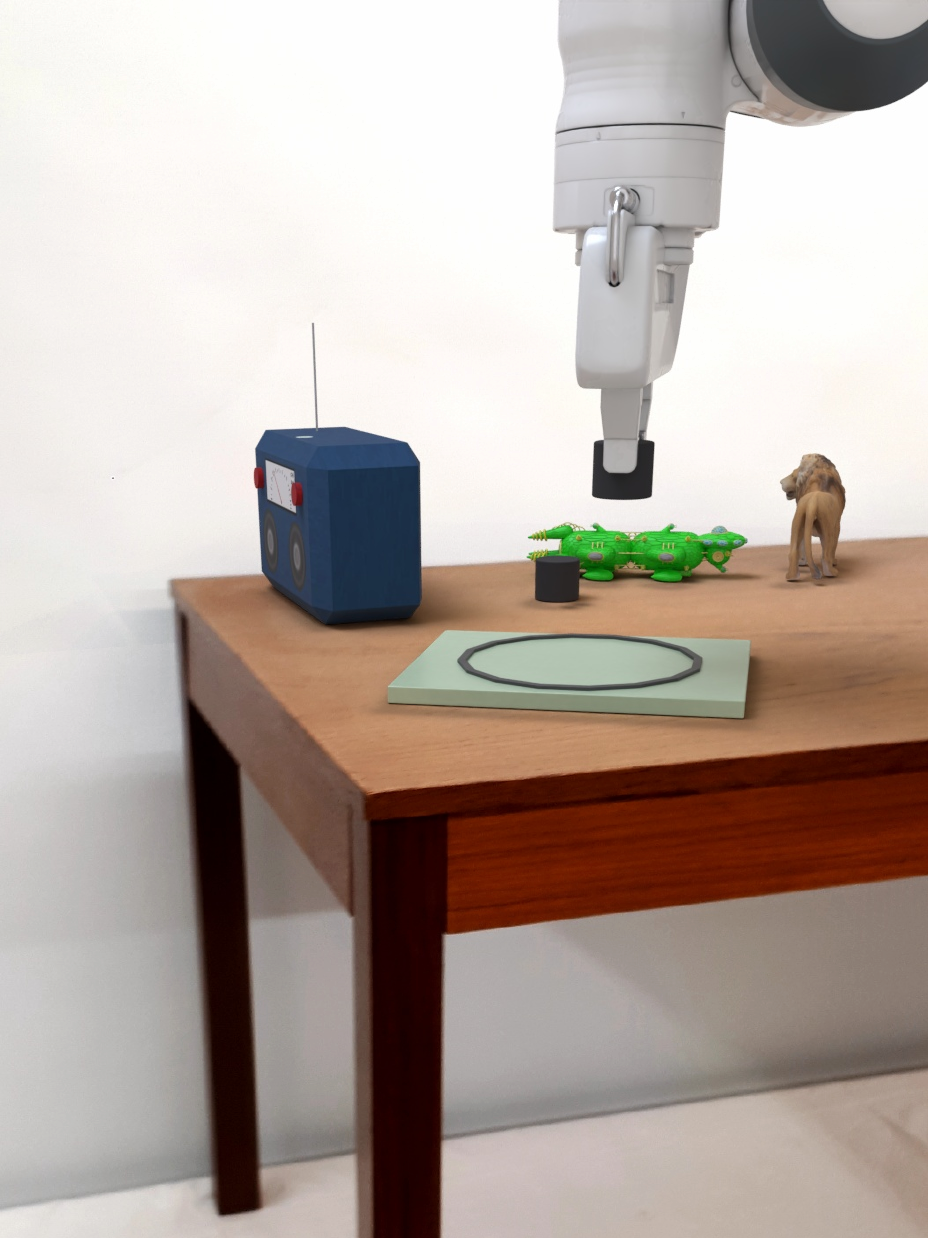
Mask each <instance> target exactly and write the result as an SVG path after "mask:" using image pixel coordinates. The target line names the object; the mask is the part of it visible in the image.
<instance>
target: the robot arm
mask: <svg viewBox="0 0 928 1238" xmlns="http://www.w3.org/2000/svg"><path fill="white" fill-rule="evenodd" d="M557 7H558V9H557V47H558V50H559V55H560V58H561V64H562V71H563V91H562V97H561V103H560V106H559V107H560V108H559V111H558V115H557V118H556V123H555V128H554V129H555V130H554V157H553V159H554V160H553V200H552V201H553V202H552V203H553V204H552V230H553V232H554V233H557V234H567V235H575V249H576V251H575V252H574V265H575V266H577V267H579V279H578V293H577V294H578V295H577V296H578V297H577V311H576V312H577V313H576V329H575V330H576V331H575V332H576V333H575V353H574V354H575V355H574V362H575V365H574V366H575V367H574V368H575V376H576V377H575V378H576V382H577V385H578V386H579V387H580V388H581V389H585V390H587V389H588V390H590V389H591V390H600V416H601V426H602V436H603V440H604V453H603V466H604V469H605V470H606V471H607V472H609V473H630V472H632V471H633V470H634V469H635V467H636V466H637V464H638V451H639V439H640V440H647V436H648V435H647V434H648V426H649V421H650V414H651V408H652V401H653V392H654V390H653V389H654V382H655V381H657V380H658V379H659V378H661V377H663V376H665V375H666V374H668V373H670V372H671V370H672V368H673V365H674V361H675V357H676V354H677V353H676V352H677V349H678V343H679V338H680V333H681V332H680V331H681V325H682V318H683V313H684V304H685V298H686V293H687V285H688V278H689V273H690V267H691V265H692V264H693V263H694V255H695V254H694V253H695V251H694V249H693V248H694V247H695V239H700V238H701V237H702V236H703V235H704V234H705V233H706V232H713V231H717V230H718V229H719V228H720V221H721V220H720V219H721V205H722V204H721V202H722V189H723V188H722V187H723V173H724V172H723V171H724V157H725V142H726V127H727V126H726V125H727V118H728V115H729V114H730V113H733V114H738V115H743V116H747V117H752V118H756V119H762V120H767V121H769V122H772V123H775V124H778V125H781V126H788V127H796V128H807V127H814V126H820V125H824V124H828V123H830V122H833V121H835V120H838V119H841V118H844V117H847V116H850V115H852V114H854V113H856V112H864V111H871V110H875V109H880V108H883V107H887V106H889V105H892V104H894V103H896V102H898V101H901V100H902V99H904V98H906V97H908V96H910V95H911V94H913V93H915V92H916V91H918V90H919V89H920V88H922V87H923V86H924V85H926V84H927V83H928V0H558V6H557Z"/></svg>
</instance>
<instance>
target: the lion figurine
mask: <svg viewBox="0 0 928 1238" xmlns="http://www.w3.org/2000/svg"><path fill="white" fill-rule="evenodd" d="M842 481H843V480H842V478H841V476H840V473H839V470H838V469H837V468H836V464H835V463H833V462H832V460H831V459H829V458H827V457H826V456H825V455H824V454H820V453H817V452H816V453H815V452H814V453H807V454H803V455H802V457H801V460H800V463H799V466H798V467H797V468H795V469H793V470H792V472H791V473H790V474H788V475H787V476H785V477H784V478H782V479H781V480H780V481H779V484H780V485H781V490H782V491H783V492H784V493H785V498H786V501H792V500H795V504H796V509H795V512H794V515H793V518H792V521H791V527H790V530H791V531H790V539H789V540H790V542H789V543H790V544H789V545H790V546H789V548H790V549H789V552H788V553H789V554H788V564H789V565H788V570H787V572H786V573H785V579H786V580H798V579H800V578H801V573H800V569H799V566H806V565H807V566H808V568H809V570H810V575H811V578H814V579H815V580H821V579H822V577H823V575H824V576H826V577H836V576H839V570H838V569H837V568H836V567H834V565H835V566H836V565H838V563H839V560H838V559H837V558H836V551H837V547H838V543H839V538H840V534H841V520H842V515H843V514H844V510H845V508H846V502H847V501H846V500H847V498H846V488H845V486H844V485H843V483H842ZM812 537H814V538H818V539H819V542H820V545H821V551H822V552H821V555H820V562H821V565H822V573H821V571H820V568H819V567H817V565H816V563H815V560H814V557H813V550H812V546H813V545H812V539H813V538H812Z"/></svg>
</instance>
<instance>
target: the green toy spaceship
mask: <svg viewBox="0 0 928 1238" xmlns="http://www.w3.org/2000/svg"><path fill="white" fill-rule="evenodd" d="M589 527H590V528H592V529H593V530H586V529H585V527H583V526H582V525H578V524H576V523H572V522H569V521H566V522H563V523H561V524H558V525H557V526H556V525H555V526H553V527H552V528H551V529H548V530H546V528H543V530H539V531H535V533H532V534H531V535H528V536H527V539H530V540H531V539H532V540H533V541H535V540H536V541H540V542H543V541H544V542H548V540H560V541H559V544H558V549H552V550H548V548H545V549H541V550H539V549H537V550H533V552H528V555H526V558H527V559H530V561H531V562H532V561H533V563H535V560H536V558H538V557H543V556H555V555H561V556H573V557H577V558H579V559H580V570H584V571H585V573H584V574H582V575H581V577H583V578H585V579H586V580H591V581H611V580H613V578H614V574H613V573H614V572H615V571H618V570H641V571H654V572H653V575H651V576H650V578H652V579H653V580H655V581H659V582H681V580H682V579H683V577H691V576H692V571H693V570H694V569H696V568H697V567H698V566H700V565H701V564H702V562H707V563H709V564H710V565H712V566H714V568H716V569H717V570H718V571H719V572H720V573H721V574H724V573H726V572H729V569H727V567H726V566H724V565H726V564H727V563H728V562H729V561H730V559H731V558H732V557H734V556H735V555H734V554H733V550H737V549H739V548H741V547H743V546H744V545H746V544H747V543H749V542H748V540H749V539H748V538H747V537H745V536H744V535H742V534H740V533H736V532H733V531H728V529H727V528H726V527H725V526H724V525H715V527H713V528H712V529H711V532H708V533H703V534H699V535H698V534H697V533H695V532H691V531H681V530H680V531H676V530H675V531H672V530H674V528H676V524H674V523H673V522H670V523H669V524H668V525H666V526H665V527H664V528H663V529H661V530H648V531H646V530H644V531H621V530H606V529H605V528H604V527H602V526H601V525H600V524H599V523H598V522H593V523H592V525H589ZM576 528H577V529H578V530H576ZM581 529H583V530H581ZM631 534H634V535H631ZM632 537H633V538H632ZM629 563H632V564H629Z"/></svg>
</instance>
